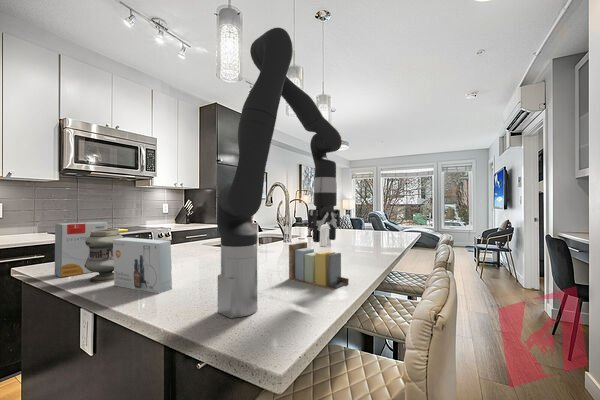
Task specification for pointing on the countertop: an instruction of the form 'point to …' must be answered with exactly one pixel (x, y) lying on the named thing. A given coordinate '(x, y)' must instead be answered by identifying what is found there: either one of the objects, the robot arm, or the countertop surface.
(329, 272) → the bookend
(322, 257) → the book ochre
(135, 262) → the skincare box
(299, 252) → the book slate
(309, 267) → the book sage
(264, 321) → the countertop surface
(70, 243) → the hard drive box
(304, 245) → the book trough
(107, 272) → the apothecary jar
